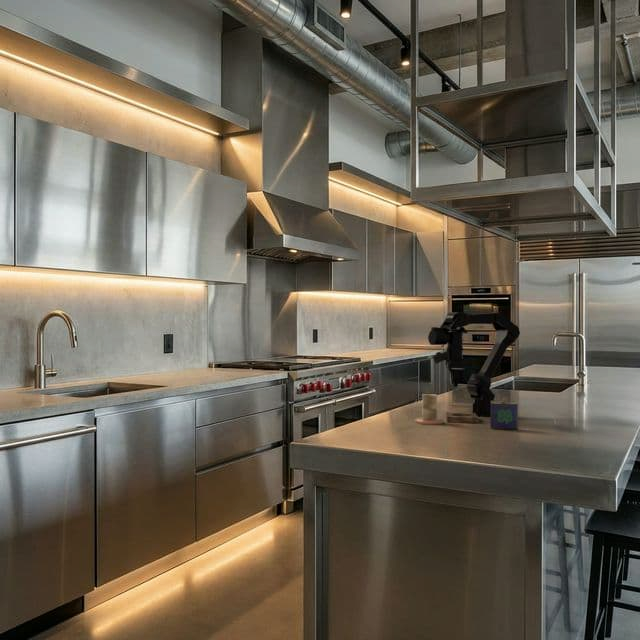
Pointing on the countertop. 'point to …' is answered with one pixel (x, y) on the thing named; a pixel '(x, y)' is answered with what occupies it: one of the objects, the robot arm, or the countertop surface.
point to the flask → (504, 415)
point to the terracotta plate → (429, 421)
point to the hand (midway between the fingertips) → (454, 385)
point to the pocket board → (461, 417)
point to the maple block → (429, 407)
